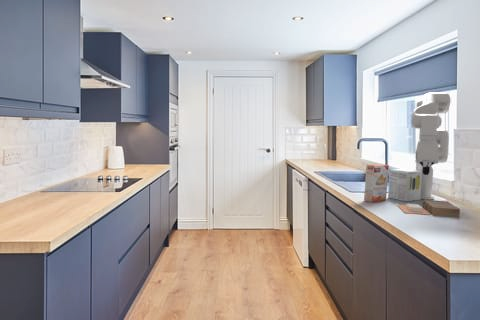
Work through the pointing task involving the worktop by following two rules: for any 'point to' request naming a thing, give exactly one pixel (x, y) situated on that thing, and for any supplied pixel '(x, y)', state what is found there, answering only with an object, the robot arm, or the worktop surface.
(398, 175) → the supplement box
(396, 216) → the worktop surface
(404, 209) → the rubber mat
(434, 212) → the walnut block
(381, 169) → the cracker box
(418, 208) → the ceramic tile
